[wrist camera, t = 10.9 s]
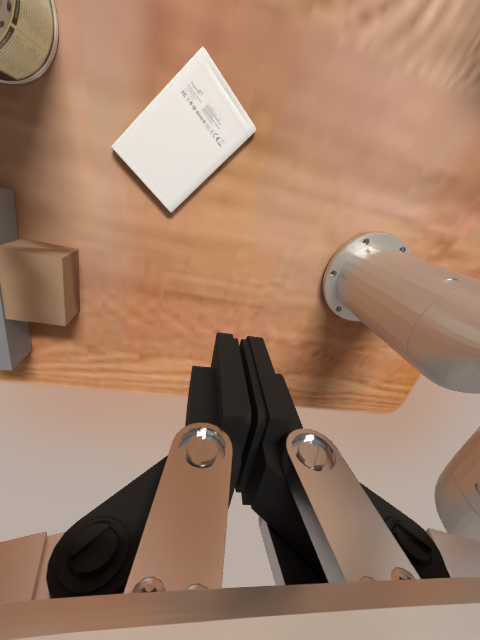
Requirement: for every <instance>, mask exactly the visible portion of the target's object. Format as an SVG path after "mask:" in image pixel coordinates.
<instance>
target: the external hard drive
mask: <svg viewBox="0 0 480 640" xmlns="http://www.w3.org/2000/svg"><path fill="white" fill-rule="evenodd" d="M255 131H256V128H255V126H254V124H253V123H252V121H251V120H250V118H249V117H248V115H247V113H246V112H245V110H244V109H243V107H242V106H241V104H240V103H239V101H238V100H237V98H236V97H235V95H234V93H233V92H232V90H231V89H230V87H229V85H228V84H227V82H226V81H225V79H224V78H223V76H222V75H221V73H220V71H219V70H218V68H217V67H216V65H215V64H214V62H213V61H212V59H211V58H210V56H209V54H208V53H207V51H206V50H205V49H204V47H201V49H200V50H199V51H198V52H197V53H196V54H195V55H194V56H193V57H192V58H191V60H190V61H189V62H188V63H187V64H186V65H185V66H184V67H183V68H182V69H181V70H180V71H179V73H178V74H177V75H176V76H175V77H174V78H173V79H172V80H171V81H170V82H169V83H168V84H167V86H166V87H165V88H164V89H163V90H162V91H161V92H160V93H159V94H158V96H157V97H156V98H155V99H154V100H153V101H152V102H151V103H150V104H149V105H148V107H147V108H146V109H145V110H144V111H143V112H142V113H141V114H140V115H139V116H138V117H137V118H136V120H135V121H134V122H133V123H132V124H131V125H130V126H129V127H128V128H127V130H126V131H125V132H124V133H123V134H122V135H121V136H120V137H119V138H118V140H117V141H116V142H115V143H114V144H113V145H112V148H113V149H114V151H115V152H116V153H117V154H118V155H119V156H120V157H121V158H122V159H123V161H124V162H125V163H126V164H127V165H128V166H129V167H130V168H131V169H132V170H133V172H134V173H135V174H136V175H137V176H138V177H139V178H140V179H141V180H142V182H143V183H144V184H145V185H146V186H147V187H148V188H149V189H150V190H151V191H152V193H153V194H154V195H155V196H156V197H157V198H158V199H159V200H160V201H161V203H162V204H163V205H164V206H165V207H166V208H167V209H168V210H169V211H170V212H171V213H172V212H173V211H174V210H175V209H176V208H177V207H178V206H179V205H180V204H181V203H182V202H183V201H184V200H185V199H186V198H187V197H188V196H189V195H190V194H191V193H192V192H194V191H195V190H196V189H197V188H198V187H199V186H200V185H201V184H202V183H203V182H204V181H205V180H206V179H207V178H208V177H209V176H210V175H211V174H212V173H213V172H214V171H215V170H216V169H217V168H218V167H219V166H220V165H221V164H222V163H223V162H224V161H226V160H227V159H228V158H229V157H230V156H231V155H232V154H233V153H234V152H235V151H236V150H237V149H238V148H239V147H240V146H241V145H242V144H243V143H244V142H245V141H246V140H247V139H248V138H249V137H250V136H251V135H252V134H253V133H254V132H255Z"/></svg>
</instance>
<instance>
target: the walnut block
mask: <svg viewBox="0 0 480 640" xmlns="http://www.w3.org/2000/svg"><path fill="white" fill-rule="evenodd" d="M0 286H1V292H2V299H3V305H4V312H5V318H6V319H11V320H19V321H27V322H35V323H44V324H52V325H60V326H66V325H67V324H68V323H69V322H70V321H71V320H72V319H73V318H74V316H75V315H76V314H77V313H78V312H79V311H80V294H79V257H78V249H75V248H70V247H64V246H58V245H53V244H47V243H41V242H36V241H30V240H25V239H17V240H14V241H11V242H8V243H5V244H2V245H0Z"/></svg>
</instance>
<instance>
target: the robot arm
mask: <svg viewBox="0 0 480 640" xmlns="http://www.w3.org/2000/svg"><path fill="white" fill-rule="evenodd" d="M363 241H364V242H363ZM331 272H332V273H331ZM322 290H323V295H324V299H325V301H326V303H327V305H328V306H329V308H330V309H331V310H332V311H333V312H334V313H335V314H336V315H338V316H339V317H341V318H343V319H346V320H349V321H361V322H362V323H364V324H365V325H366V326H367V327H368V328H369V329H370V330H372V331H373V332H374V333H375V334H376V335H377V336H378V337H380V338H381V339H382V340H383V341H384V342H385V343H386V344H388V345H389V346H390V347H391V348H392V349H393V350H395V351H396V352H397V353H398V354H399V355H400V356H401V357H403V358H404V359H405V360H406V361H407V362H408V363H409V364H411V365H412V366H413V367H414V368H415V369H417V370H418V371H419V372H420V373H421V374H422V375H424V376H425V377H426V378H428V379H429V380H430V381H432V382H434V383H435V384H437V385H439V386H442V387H444V388H447V389H450V390H454V391H458V392H464V393H474V394H480V280H478V279H475V278H473V277H470V276H467V275H464V274H461V273H459V272H456V271H453V270H450V269H447V268H445V267H442V266H439V265H436V264H433V263H430V262H428V261H425V260H422V259H419V258H416V257H414V256H412V254H411V252H410V250H409V248H408V246H407V245H406V244H405V243H404V241H402V240H401V239H400V238H398V237H396V236H394V235H391V234H388V233H383V232H371V233H366V234H362V235H360V236H357V237H355V238H353V239H352V240H350V241H348V242H347V243H346V244H345V245H343V246H342V247H341V248H340V249H339V250H338V251H337V252H336V253H335V255H334V256H333V257H332V259H331V260H330V262H329V264H328V266H327V268H326V271H325V273H324V278H323V289H322ZM234 488H235V490H236V492H241V494H242V503H243V505H251V508H252V509H253V510H254V511H255V512H256V513H257V514H258V515H259V525H260V530H261V534H262V537H263V541H264V545H265V548H266V552H267V555H268V559H269V562H270V566H271V570H272V573H273V577H274V580H275V584H276V586H260V587H241V588H222V578H223V565H224V553H225V540H226V528H227V515H228V509H229V505H230V502H231V498H232V495H233V492H234ZM435 503H436V509H437V512H438V514H439V517H440V519H441V521H442V523H443V525H444V527H445V529H446V531H447V532H448V533H446V532H442V531H438V530H435V529H430V528H428V529H427V530H426V531H425V530H424V529H423V528H421V527H420V526H419V525H418V524H417V523H415V522H414V521H413V520H412V519H410V518H409V517H407V516H406V515H405V514H403V513H401V512H400V511H399V510H397V509H396V508H395V507H393V506H392V505H390V504H389V503H388V502H386V501H385V500H384V499H382V498H381V497H379V496H378V495H376V494H375V493H374V492H372V491H371V490H370V489H368V488H367V487H365V486H364V485H363V484H361V483H360V482H358V480H357V479H356V477H355V475H354V474H353V472H352V471H351V469H350V468H349V466H348V464H347V463H346V461H345V460H344V458H343V457H342V455H341V454H340V452H339V451H338V449H337V448H336V447H335V445H334V444H333V443H332V442H331V441H330V440H329V439H328V438H327V437H325V436H324V435H322V434H320V433H318V432H317V431H313V430H310V429H303V427H302V424H301V421H300V419H299V416H298V414H297V411H296V408H295V406H294V403H293V401H292V398H291V396H290V393H289V390H288V388H287V385H286V383H285V380H284V378H283V376H282V375H281V374H275V371H274V368H273V366H272V363H271V360H270V357H269V354H268V351H267V349H266V346H265V343H264V340H263V338H260V337H252V336H247V338H246V340H244V339H242V340H241V342H240V346H239V343H238V339H236V338H233V335H232V334H226V333H218V332H217V335H216V341H215V346H214V352H213V357H212V363H211V368H210V367H200V366H193V367H192V373H191V380H190V387H189V395H188V404H187V414H186V425H185V427H184V428H182V429H181V430H180V431H179V432H178V433H177V434H176V436H175V438H174V440H173V442H172V445H171V448H170V451H169V454H168V456H166V457H165V458H163V459H162V460H161V461H160V462H158V463H157V464H155V465H154V466H153V467H151V468H150V469H148V470H147V471H146V472H144V473H143V474H142V475H140V476H139V477H138V478H136V479H135V480H133V481H132V482H131V483H129V484H128V485H127V486H125V487H124V488H123V489H121V490H120V491H118V492H117V493H116V494H114V495H113V496H112V497H110V498H109V499H108V500H106V501H105V502H104V503H102V504H101V505H99V506H98V507H97V508H95V509H94V510H92V511H91V512H90V513H88V514H87V515H86V516H84V517H83V518H82V519H80V520H79V521H77V522H76V523H75V524H74V525H73V526H72V527H71V528H70V529H69V530H67V532H63V533H59V534H55V535H51V536H47V533H46V532H42V533H38V534H34V535H30V536H26V537H21V538H17V539H12V540H9V541H4V542H0V640H480V427H479V428H478V429H477V430H476V431H475V433H474V434H473V435H472V436H471V437H470V438H469V439H468V441H467V442H466V443H465V444H464V445H463V446H462V448H461V449H460V450H459V451H458V452H457V453H456V455H455V456H454V457H453V459H452V460H451V461H450V462H449V463H448V465H447V466H446V467H445V469H444V470H443V472H442V473H441V475H440V477H439V479H438V481H437V484H436V488H435Z"/></svg>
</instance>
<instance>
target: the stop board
mask: <svg viewBox="0 0 480 640" xmlns="http://www.w3.org/2000/svg"><path fill="white" fill-rule="evenodd" d="M17 239H19V234H18V225H17V217H16V208H15V200H14V191H13V189H9V188H4V187H0V245H2V244H5V243H8V242H11V241H14V240H17ZM31 351H32V345H31V336H30V327H29V322H27V321H19V320H11V319H6V318H5V312H4V305H3V299H2V292H1V286H0V370H10V371H12V370H13V369H14V368H15V367H16V366H17V365H18V364H19V363H20V362H21V361H22V360H23V359H24V358H25V357H26V356H27V355H28V354H29V353H30V352H31Z"/></svg>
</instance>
